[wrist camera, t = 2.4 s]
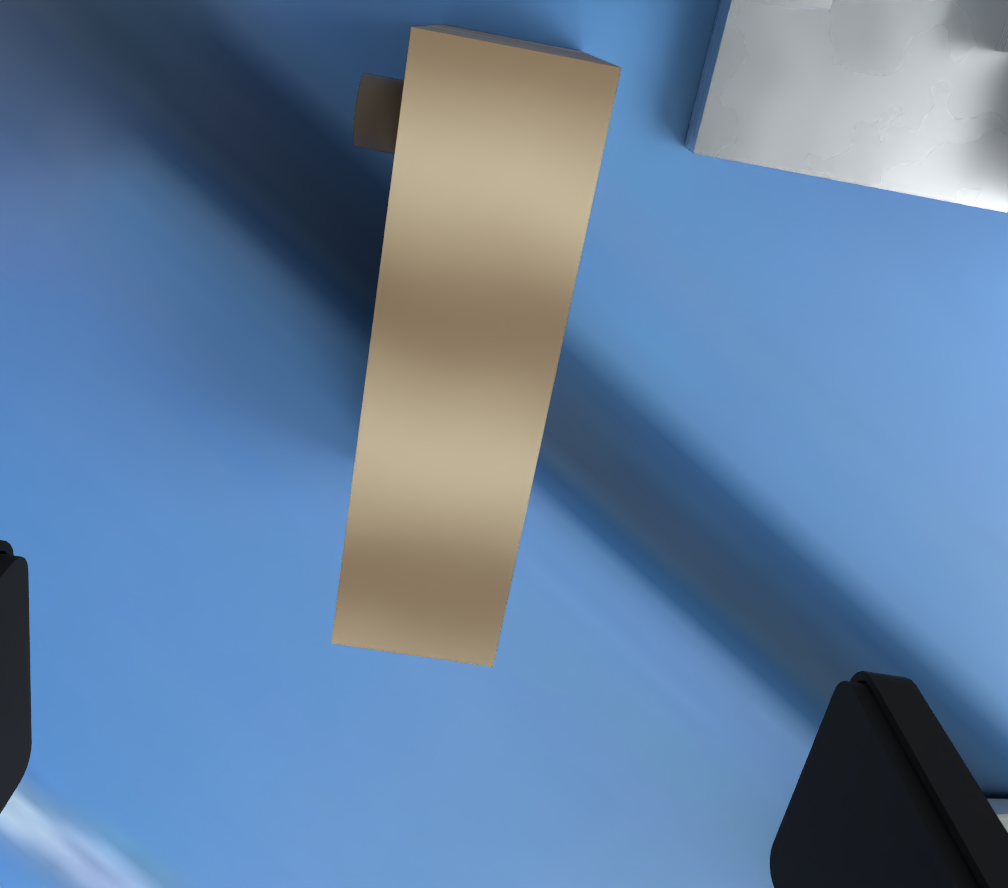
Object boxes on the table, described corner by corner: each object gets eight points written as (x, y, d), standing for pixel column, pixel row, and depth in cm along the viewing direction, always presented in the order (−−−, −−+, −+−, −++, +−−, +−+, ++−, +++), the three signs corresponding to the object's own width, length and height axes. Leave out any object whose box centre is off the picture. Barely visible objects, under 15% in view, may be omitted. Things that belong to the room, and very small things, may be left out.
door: (495, 486, 33) (493, 667, 24) (343, 462, 32) (281, 636, 23) (581, 51, 27) (621, 67, 18) (399, 15, 27) (347, 14, 18)
